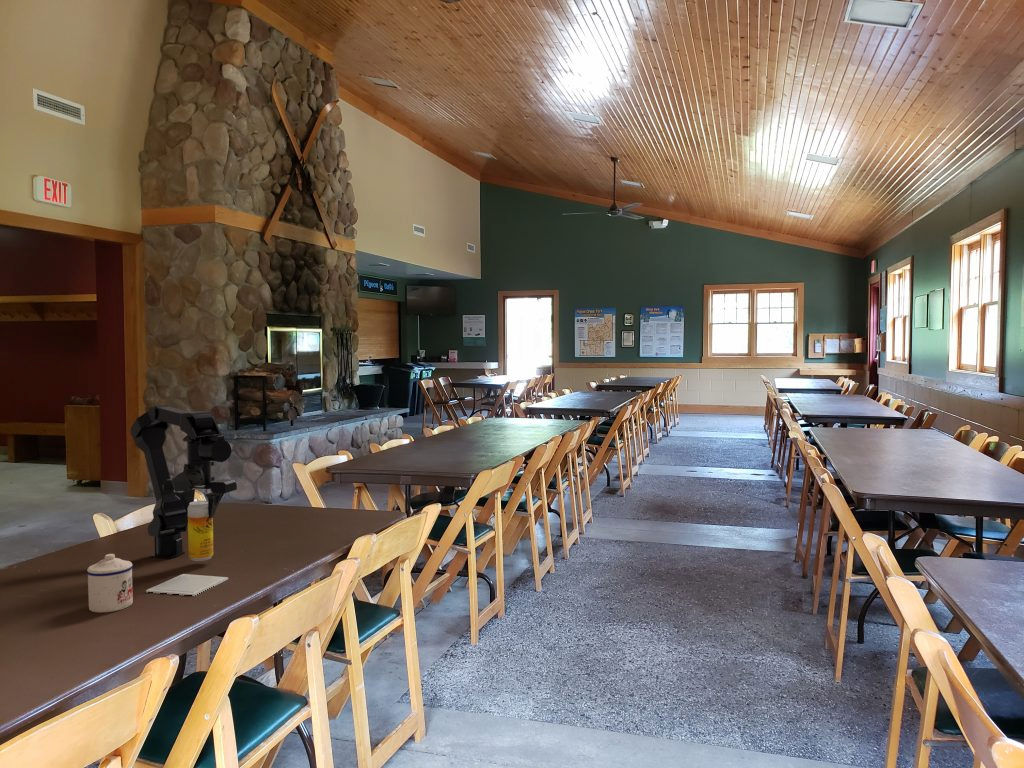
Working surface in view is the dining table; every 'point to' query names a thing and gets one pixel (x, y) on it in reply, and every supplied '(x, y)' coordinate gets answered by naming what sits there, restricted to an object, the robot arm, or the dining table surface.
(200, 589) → the coaster
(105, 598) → the teacup with lid
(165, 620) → the dining table surface
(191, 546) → the beer can
